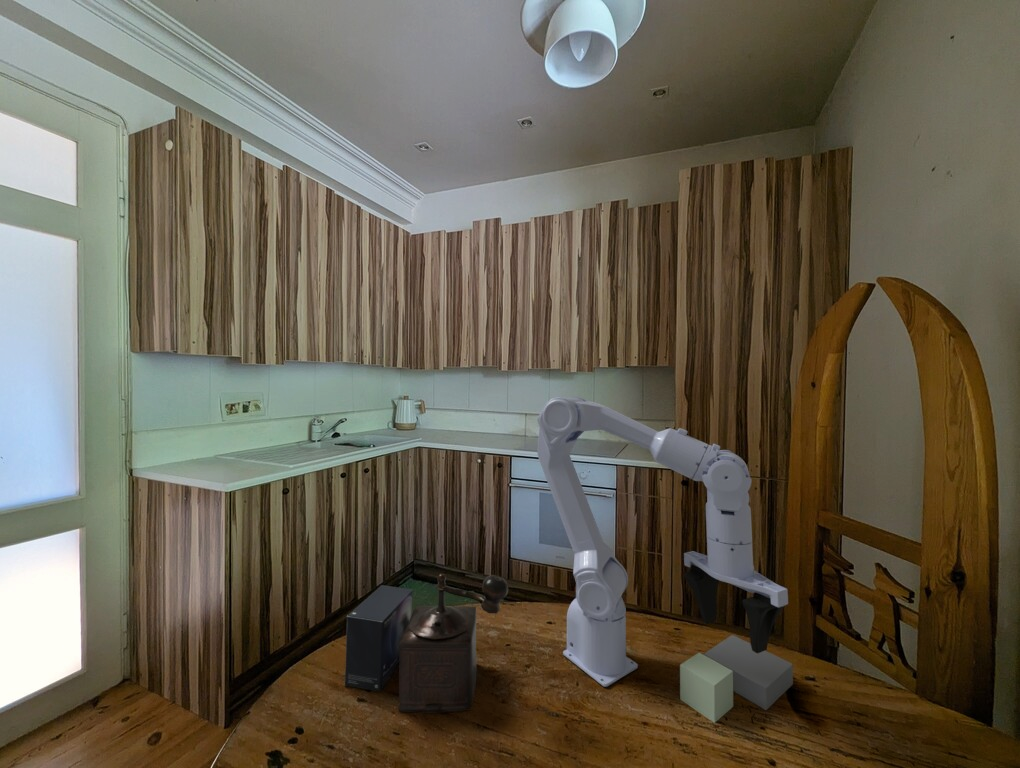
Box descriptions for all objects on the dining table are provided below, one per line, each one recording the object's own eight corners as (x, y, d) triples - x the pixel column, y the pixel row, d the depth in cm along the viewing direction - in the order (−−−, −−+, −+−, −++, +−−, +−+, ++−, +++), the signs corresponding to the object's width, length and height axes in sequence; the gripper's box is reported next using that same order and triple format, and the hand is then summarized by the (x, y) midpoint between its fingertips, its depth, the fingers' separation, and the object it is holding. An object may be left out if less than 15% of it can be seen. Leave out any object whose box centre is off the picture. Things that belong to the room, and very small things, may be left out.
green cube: (680, 700, 58) (680, 664, 58) (699, 685, 61) (699, 652, 61) (714, 723, 54) (714, 685, 54) (733, 707, 57) (732, 671, 57)
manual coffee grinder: (394, 716, 55) (395, 583, 55) (413, 662, 66) (415, 551, 66) (508, 717, 55) (508, 583, 55) (508, 662, 66) (508, 551, 66)
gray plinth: (703, 673, 63) (703, 654, 63) (732, 652, 68) (732, 634, 68) (766, 710, 56) (765, 688, 56) (793, 683, 61) (792, 663, 61)
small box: (382, 693, 59) (383, 621, 59) (342, 687, 60) (343, 616, 60) (413, 649, 69) (414, 587, 69) (379, 644, 70) (380, 583, 71)
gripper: (800, 549, 52) (805, 656, 52) (704, 520, 66) (708, 604, 65) (765, 559, 49) (771, 672, 49) (673, 526, 63) (676, 615, 62)
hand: (733, 635), depth 57 cm, fingers open, 7 cm apart
